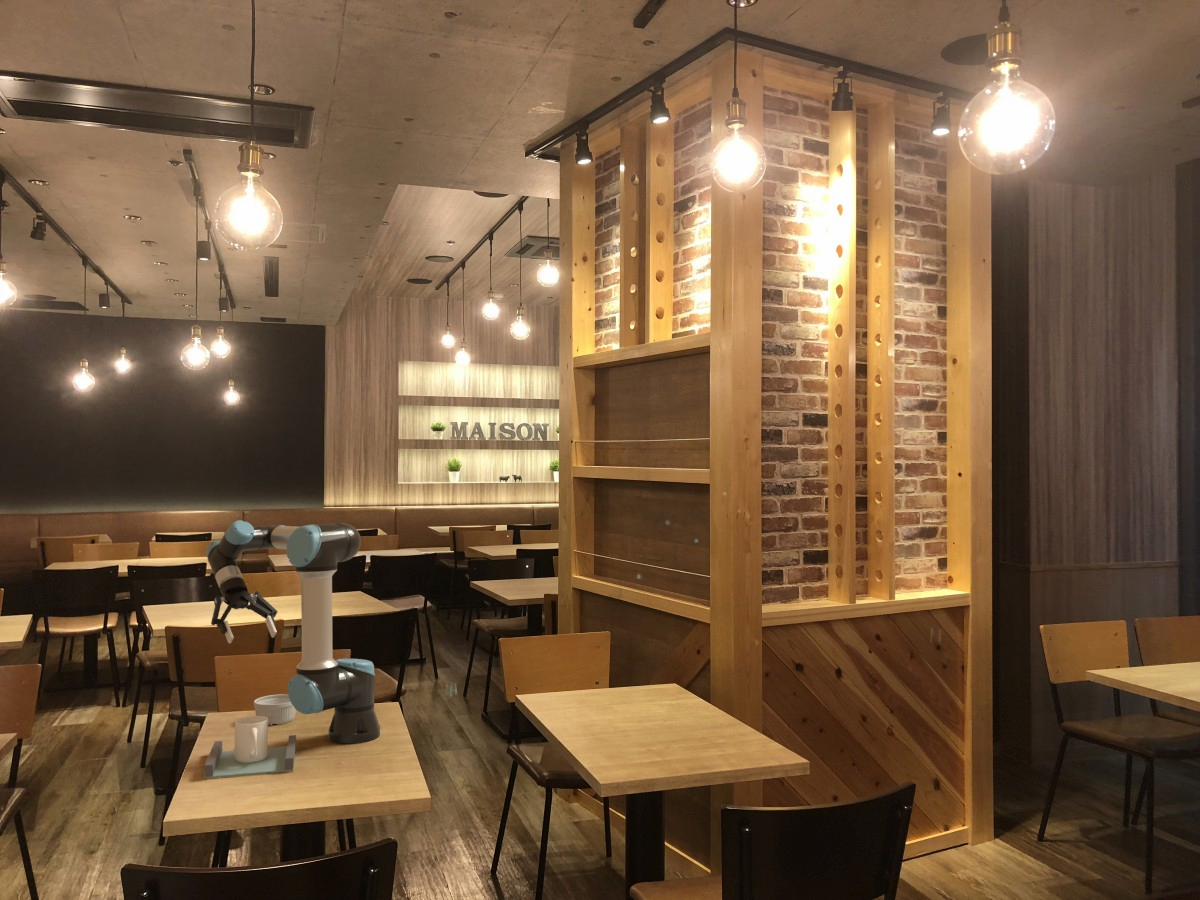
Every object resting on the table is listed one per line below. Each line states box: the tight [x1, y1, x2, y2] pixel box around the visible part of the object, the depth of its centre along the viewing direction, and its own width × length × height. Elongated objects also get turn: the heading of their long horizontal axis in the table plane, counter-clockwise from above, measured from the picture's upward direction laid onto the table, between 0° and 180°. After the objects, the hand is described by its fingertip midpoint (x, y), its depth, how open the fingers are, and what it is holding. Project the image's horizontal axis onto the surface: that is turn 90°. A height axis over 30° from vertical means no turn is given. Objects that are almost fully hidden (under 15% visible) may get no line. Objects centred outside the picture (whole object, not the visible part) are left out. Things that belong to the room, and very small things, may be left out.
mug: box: [234, 715, 269, 763], centre depth 256 cm, size 9×12×11 cm
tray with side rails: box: [204, 734, 297, 780], centre depth 256 cm, size 22×22×4 cm
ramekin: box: [253, 693, 297, 726], centre depth 298 cm, size 13×13×7 cm
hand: (253, 637), depth 281 cm, fingers open, 13 cm apart
